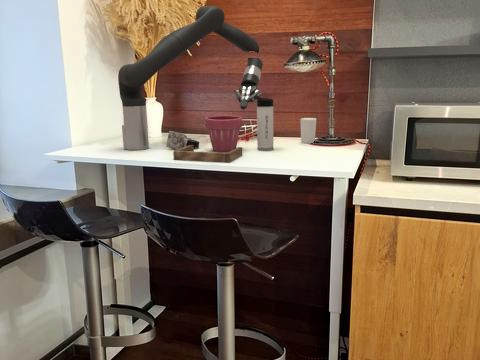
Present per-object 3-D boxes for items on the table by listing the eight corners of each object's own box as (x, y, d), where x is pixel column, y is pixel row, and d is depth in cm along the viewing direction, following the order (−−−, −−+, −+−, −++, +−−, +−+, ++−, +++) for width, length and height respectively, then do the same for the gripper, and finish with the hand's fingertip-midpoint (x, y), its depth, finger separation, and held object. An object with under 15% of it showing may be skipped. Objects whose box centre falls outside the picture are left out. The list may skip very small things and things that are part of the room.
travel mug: (261, 147, 181) (261, 96, 176) (276, 148, 178) (276, 97, 173) (253, 150, 176) (253, 97, 171) (268, 151, 172) (268, 98, 168)
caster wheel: (200, 153, 186) (191, 153, 176) (175, 146, 188) (165, 147, 179) (203, 137, 185) (195, 137, 175) (178, 130, 187) (168, 130, 178)
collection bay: (173, 159, 160) (173, 151, 159) (190, 152, 172) (189, 145, 171) (229, 162, 153) (229, 153, 152) (242, 155, 165) (242, 147, 164)
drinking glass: (314, 144, 186) (315, 119, 184) (298, 143, 189) (298, 119, 186) (317, 141, 193) (317, 118, 190) (301, 141, 195) (302, 117, 192)
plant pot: (236, 154, 168) (236, 119, 165) (201, 152, 172) (200, 119, 169) (246, 147, 182) (246, 115, 179) (213, 146, 185) (212, 115, 182)
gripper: (235, 72, 202) (226, 102, 194) (263, 72, 198) (255, 102, 189) (239, 84, 208) (230, 113, 200) (267, 84, 204) (259, 114, 196)
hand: (242, 108), depth 195 cm, fingers closed
